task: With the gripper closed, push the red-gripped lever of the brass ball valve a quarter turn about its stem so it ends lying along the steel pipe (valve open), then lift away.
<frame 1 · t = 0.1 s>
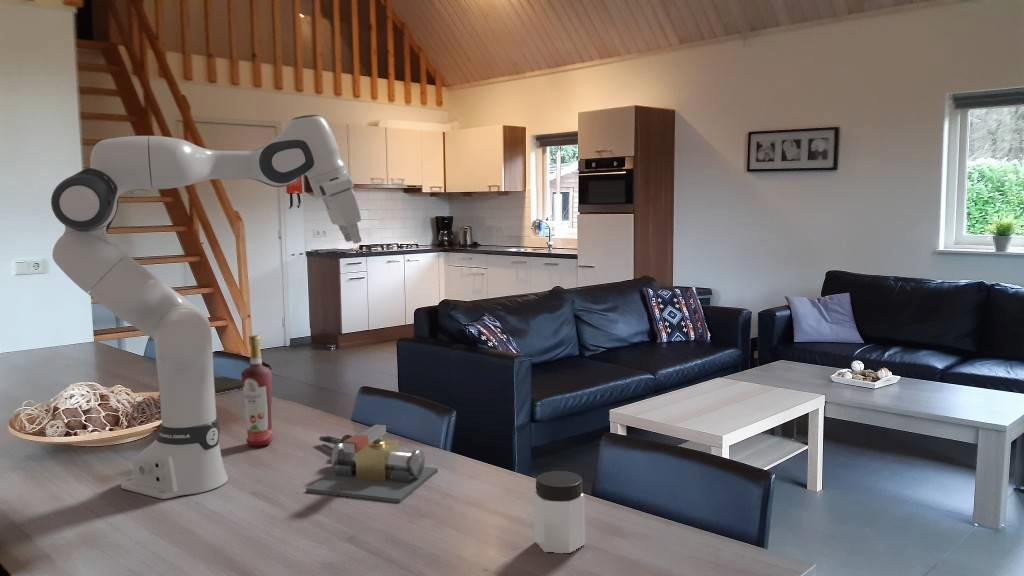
hand: (353, 241, 178), 52 cm above the table, tool tilted 20°, fingers open, 8 cm apart
liquor: (260, 445, 198), on the table
valve: (358, 452, 189), on the table, touching mat
dark grey flat slab: (207, 393, 256), on the table
pipe valve: (378, 478, 172), resting on mat
jar: (559, 544, 138), on the table
lever: (365, 440, 166), point 10 cm above the table, hinge at 0.0°
mat: (374, 481, 170), on the table
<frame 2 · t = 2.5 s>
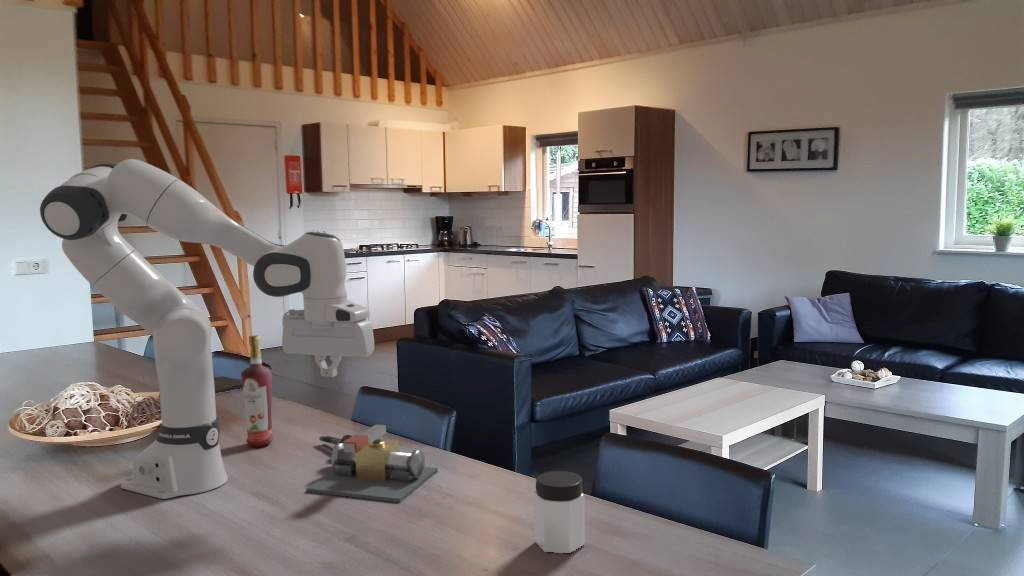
hand: (328, 376, 162), 25 cm above the table, tool pointing down, fingers closed
nothing on the table moved.
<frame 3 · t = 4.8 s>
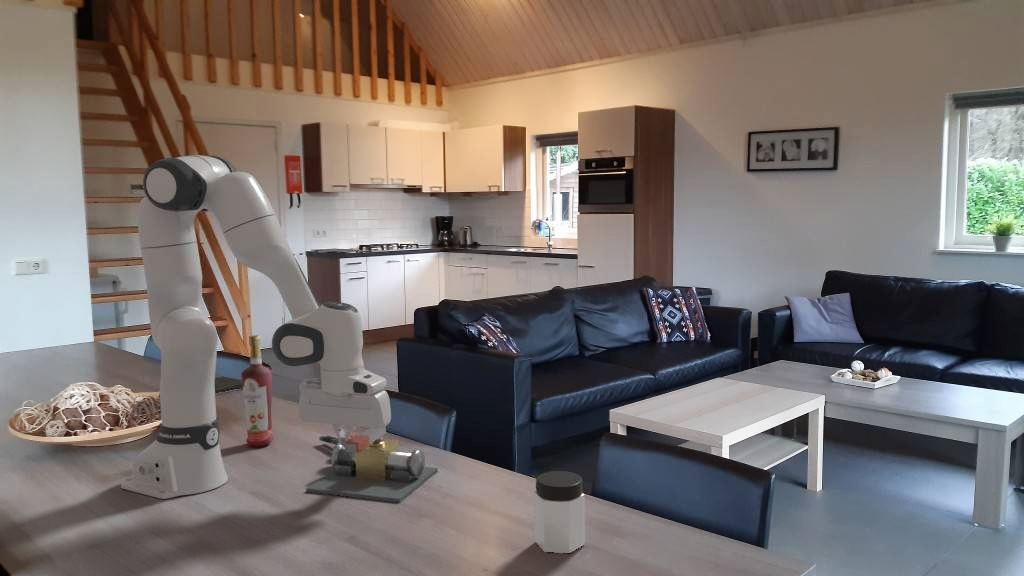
hand: (345, 444, 162), 10 cm above the table, tool pointing down, fingers closed
lever: (366, 440, 166), point 10 cm above the table, hinge at 1.7°, touching gripper
everything else where it was.
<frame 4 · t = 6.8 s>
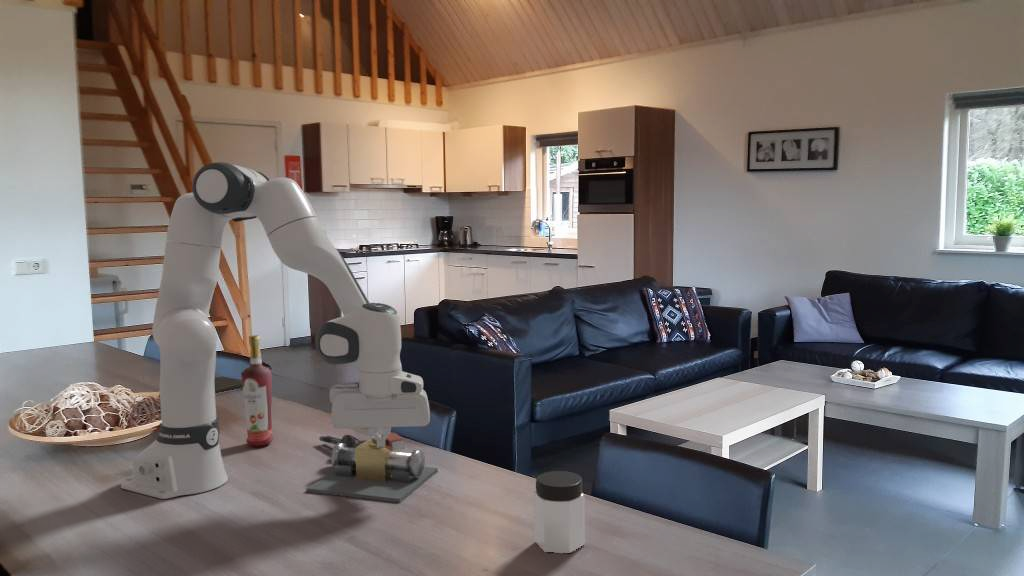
hand: (381, 447, 161), 10 cm above the table, tool pointing down, fingers closed
lever: (385, 439, 167), point 10 cm above the table, hinge at 49.4°, touching gripper
everything else where it was.
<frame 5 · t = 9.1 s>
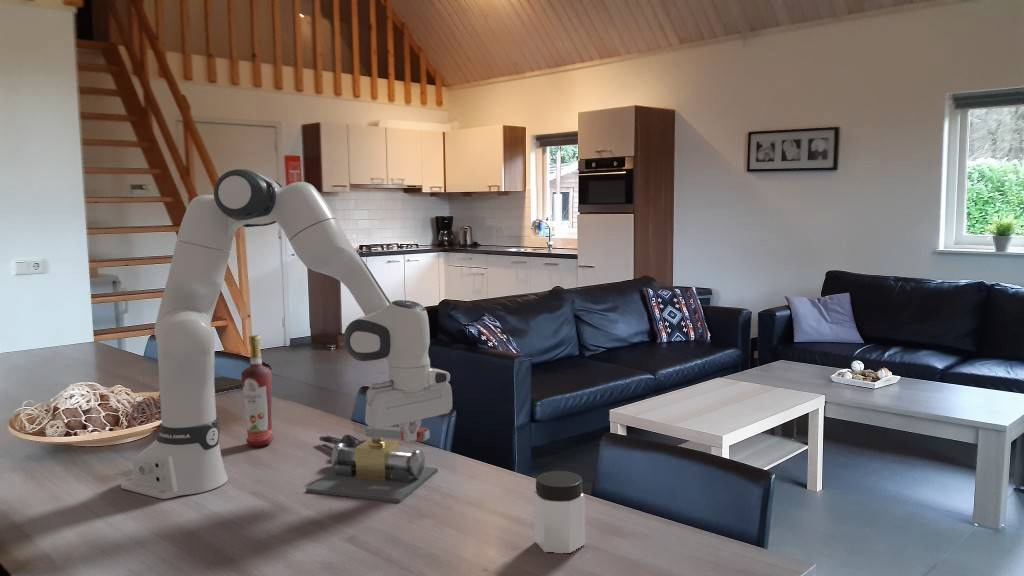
hand: (410, 440, 166), 10 cm above the table, tool pointing down, fingers closed
lever: (397, 435, 169), point 10 cm above the table, hinge at 92.0°, touching gripper
everything else where it was.
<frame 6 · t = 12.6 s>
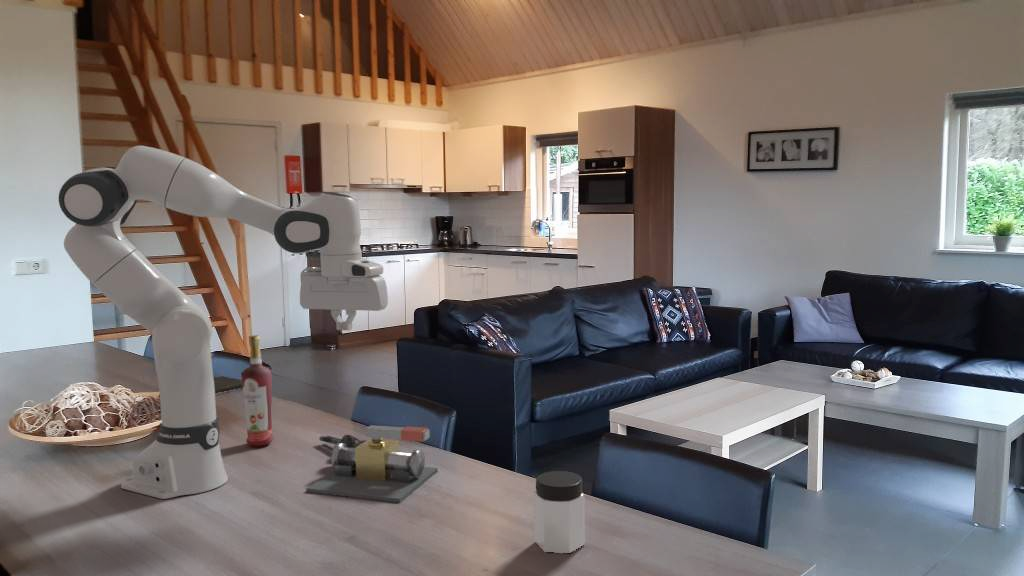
hand: (344, 329, 170), 33 cm above the table, tool pointing down, fingers closed
lever: (397, 435, 169), point 10 cm above the table, hinge at 92.1°
everything else where it was.
at the end: lever at +92° (first picture: +0°) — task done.
